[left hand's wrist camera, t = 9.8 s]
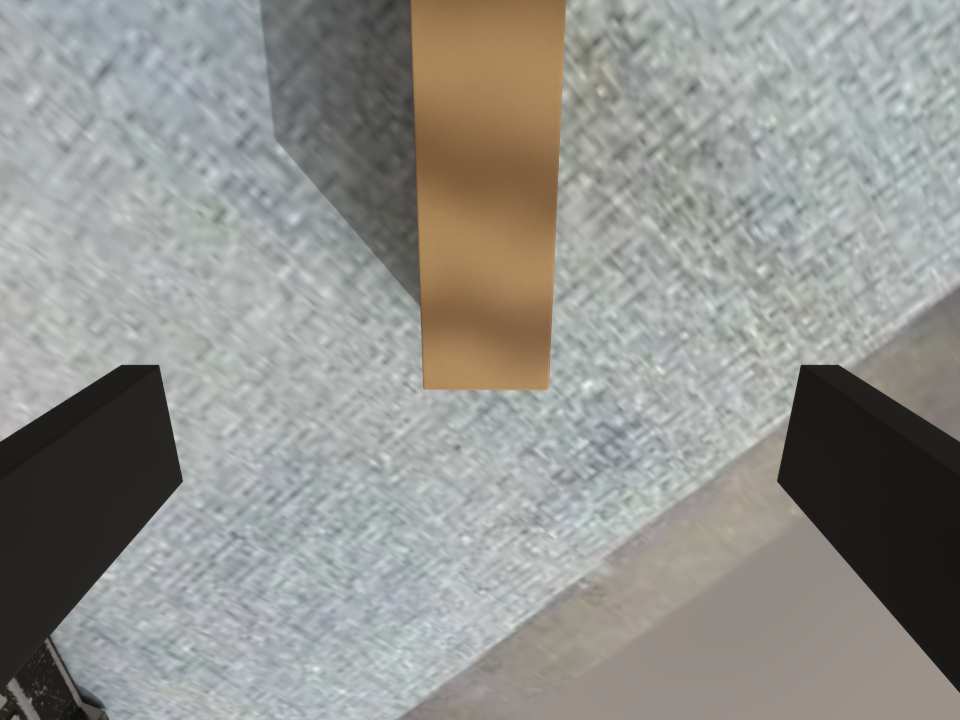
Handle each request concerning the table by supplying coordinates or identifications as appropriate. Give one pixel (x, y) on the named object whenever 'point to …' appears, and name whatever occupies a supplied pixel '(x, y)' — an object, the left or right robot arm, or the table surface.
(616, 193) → the table surface
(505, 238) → the beam
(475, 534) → the table surface
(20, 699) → the gun
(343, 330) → the table surface
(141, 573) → the table surface
